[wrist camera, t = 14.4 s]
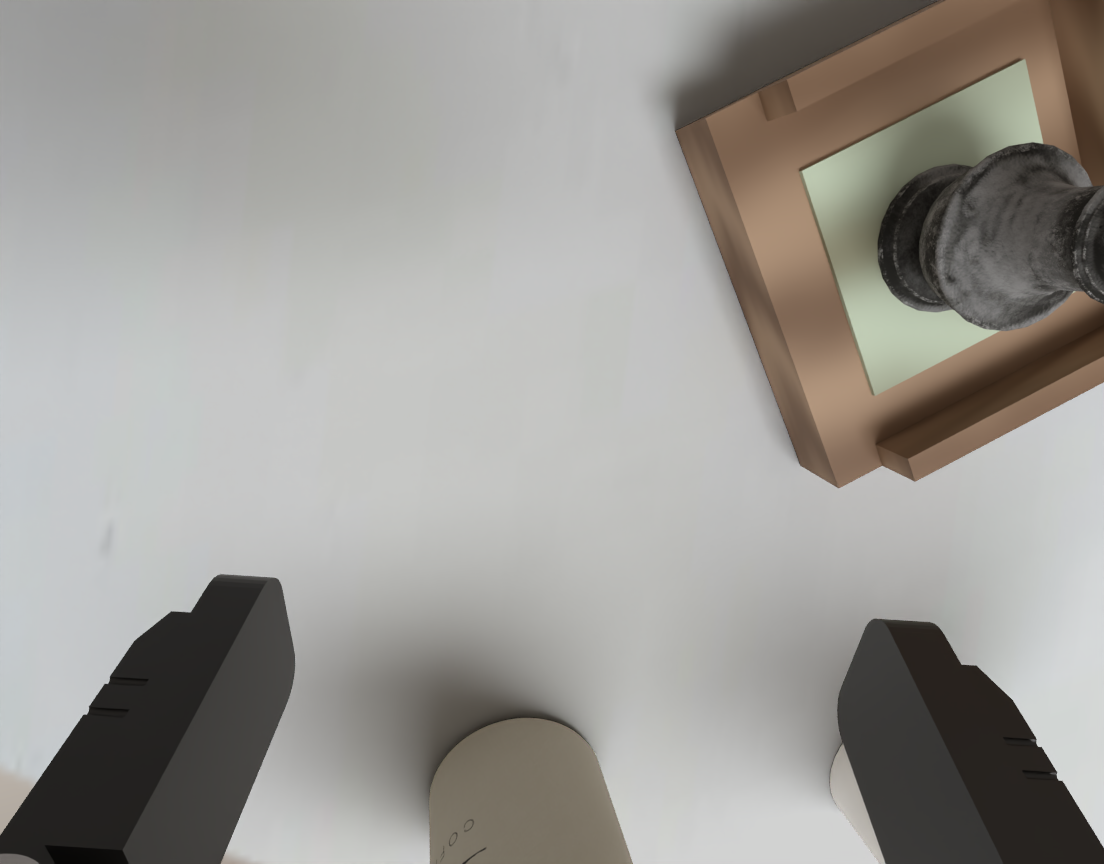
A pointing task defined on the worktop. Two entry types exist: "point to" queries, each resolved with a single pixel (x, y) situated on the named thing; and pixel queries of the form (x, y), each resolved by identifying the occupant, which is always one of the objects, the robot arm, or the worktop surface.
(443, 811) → the travel mug
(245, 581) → the robot arm
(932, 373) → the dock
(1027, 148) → the salt shaker
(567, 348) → the worktop surface
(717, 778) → the worktop surface
